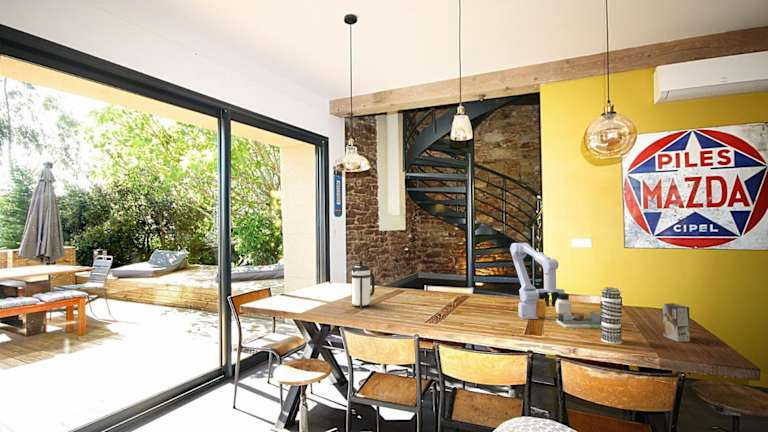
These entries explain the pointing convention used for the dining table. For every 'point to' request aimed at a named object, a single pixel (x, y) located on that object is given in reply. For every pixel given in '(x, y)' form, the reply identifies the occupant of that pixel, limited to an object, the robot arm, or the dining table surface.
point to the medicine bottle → (563, 304)
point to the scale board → (584, 322)
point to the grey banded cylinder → (611, 316)
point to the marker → (578, 317)
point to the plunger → (566, 317)
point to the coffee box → (676, 322)
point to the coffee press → (362, 284)
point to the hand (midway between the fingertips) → (550, 306)
